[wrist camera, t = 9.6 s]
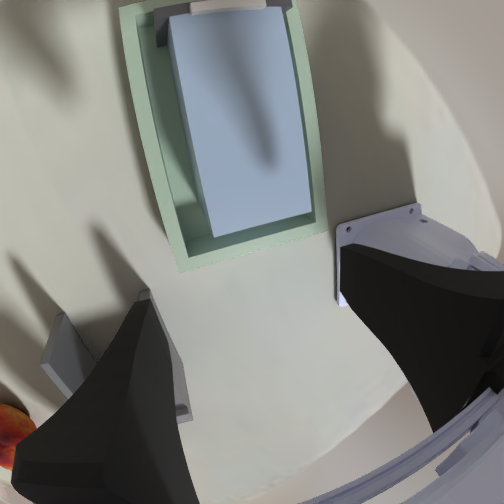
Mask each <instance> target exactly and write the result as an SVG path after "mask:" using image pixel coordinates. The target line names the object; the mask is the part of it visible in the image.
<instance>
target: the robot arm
mask: <svg viewBox="0 0 504 504" xmlns="http://www.w3.org/2000/svg"><path fill="white" fill-rule="evenodd" d="M409 211H410V212H409ZM421 213H422V205H421V204H420V203H413V204H409V205H406V206H402V207H399V208H395V209H392V210H388V211H384V212H381V213H377V214H374V215H370V216H366V217H363V218H359V219H356V220H352V221H349V222H345V223H342V224H339V225H338V226H337V228H336V249H337V304H338V305H339V306H340V307H344V306H346V305H349V306H350V307H351V309H352V310H353V311H354V312H355V313H356V315H357V316H358V317H359V318H360V319H361V320H362V321H363V323H364V324H365V325H366V326H367V327H368V328H369V329H370V330H371V331H372V332H373V334H374V335H375V336H376V337H377V338H378V339H379V340H380V341H381V343H382V344H383V345H384V346H385V347H386V348H387V350H388V351H389V352H390V354H391V355H392V356H393V358H394V359H395V361H396V362H397V364H398V365H399V367H400V368H401V370H402V371H403V373H404V375H405V376H406V378H407V380H408V382H409V385H410V388H411V390H412V392H413V394H414V395H415V397H416V398H417V400H418V401H419V402H420V403H421V405H422V407H423V410H424V412H425V414H426V416H427V418H428V421H429V423H430V426H431V428H432V431H433V434H432V435H430V436H429V437H427V438H426V439H425V440H423V441H422V442H420V443H419V444H417V445H416V446H414V447H413V448H411V449H409V450H408V451H406V452H405V453H403V454H401V455H400V456H398V457H397V458H395V459H393V460H392V461H390V462H388V463H386V464H385V465H383V466H381V467H379V468H377V469H376V470H374V471H372V472H370V473H368V474H366V475H364V476H362V477H361V478H358V479H356V480H354V481H352V482H350V483H348V484H346V485H343V486H341V487H339V488H337V489H334V490H332V491H330V492H327V493H325V494H323V495H320V496H318V497H315V498H313V499H310V500H307V501H305V502H302V503H299V504H361V503H363V502H365V501H367V500H369V499H371V498H373V497H375V496H377V495H378V494H380V493H382V492H384V491H386V490H387V489H389V488H391V487H393V486H394V485H396V484H398V483H399V482H401V481H402V480H404V479H406V478H407V477H409V476H410V475H412V474H413V473H415V472H416V471H418V470H419V469H421V468H422V467H424V466H425V465H427V464H428V463H429V462H431V461H432V460H434V459H435V458H436V457H438V456H439V455H440V454H442V453H443V452H444V451H446V450H447V449H448V448H450V447H451V446H452V445H453V444H455V443H456V442H457V441H458V440H459V439H461V438H462V437H463V436H464V435H465V434H466V433H468V432H469V431H470V430H471V431H470V434H469V435H468V436H467V437H466V438H465V439H464V440H463V441H462V442H461V443H460V444H459V445H458V446H457V447H456V449H455V450H454V451H453V452H452V453H451V454H450V455H449V456H448V457H447V458H446V459H445V460H444V461H443V462H442V463H441V464H440V465H439V466H437V467H436V470H435V471H436V472H437V473H438V475H439V476H440V477H439V478H437V479H436V480H435V481H433V482H432V483H431V484H429V485H428V486H426V487H425V488H423V489H422V490H421V491H419V492H418V493H416V494H415V495H413V496H412V497H410V498H409V499H407V500H405V501H404V502H402V503H401V504H504V264H503V263H502V262H500V261H499V260H497V259H495V258H494V257H492V256H490V255H489V254H487V253H485V252H484V251H481V252H479V253H478V251H477V249H476V248H475V246H474V245H473V244H472V242H471V241H470V240H469V239H468V238H466V237H465V236H463V235H462V234H460V233H458V232H456V231H454V230H452V229H450V228H449V227H447V226H445V225H443V224H441V223H439V222H437V221H435V220H433V219H431V218H429V217H427V216H425V215H423V214H421ZM347 227H349V229H348V230H347V231H346V229H347ZM11 484H12V486H13V487H14V489H15V490H16V491H17V492H18V493H19V494H21V495H22V496H24V497H25V498H27V499H28V500H30V501H32V502H34V503H35V504H200V503H199V500H198V498H197V495H196V492H195V489H194V486H193V483H192V480H191V476H190V473H189V470H188V466H187V463H186V459H185V455H184V452H183V448H182V444H181V439H180V435H179V431H178V425H177V419H176V409H175V396H174V382H173V367H172V360H171V354H170V349H169V343H168V340H167V337H166V335H165V333H164V330H163V328H162V326H161V323H160V321H159V318H158V316H157V313H156V311H155V308H154V306H153V303H152V301H151V298H150V299H146V300H142V301H138V302H134V304H133V306H132V307H131V309H130V311H129V313H128V314H127V316H126V318H125V320H124V321H123V323H122V325H121V327H120V329H119V330H118V332H117V334H116V335H115V337H114V339H113V341H112V342H111V344H110V345H109V347H108V348H107V350H106V351H105V353H104V355H103V356H102V358H101V359H100V361H99V362H98V364H97V365H96V367H95V368H94V369H93V371H92V372H91V373H90V375H89V376H88V377H87V378H86V380H85V381H84V382H83V384H82V385H81V386H80V387H79V388H78V389H77V390H76V391H75V393H74V394H73V395H72V396H71V397H70V398H69V399H68V400H67V402H66V403H65V404H64V405H63V406H62V407H61V408H60V409H59V410H58V411H57V412H56V413H55V414H54V415H52V416H51V417H50V418H49V419H48V420H47V421H46V422H45V423H44V424H42V425H41V426H40V427H39V428H38V429H36V430H35V431H34V432H32V433H31V434H30V435H28V436H27V437H26V438H24V439H23V440H22V441H20V442H19V443H18V444H16V449H15V455H14V462H13V469H12V477H11Z"/></svg>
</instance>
